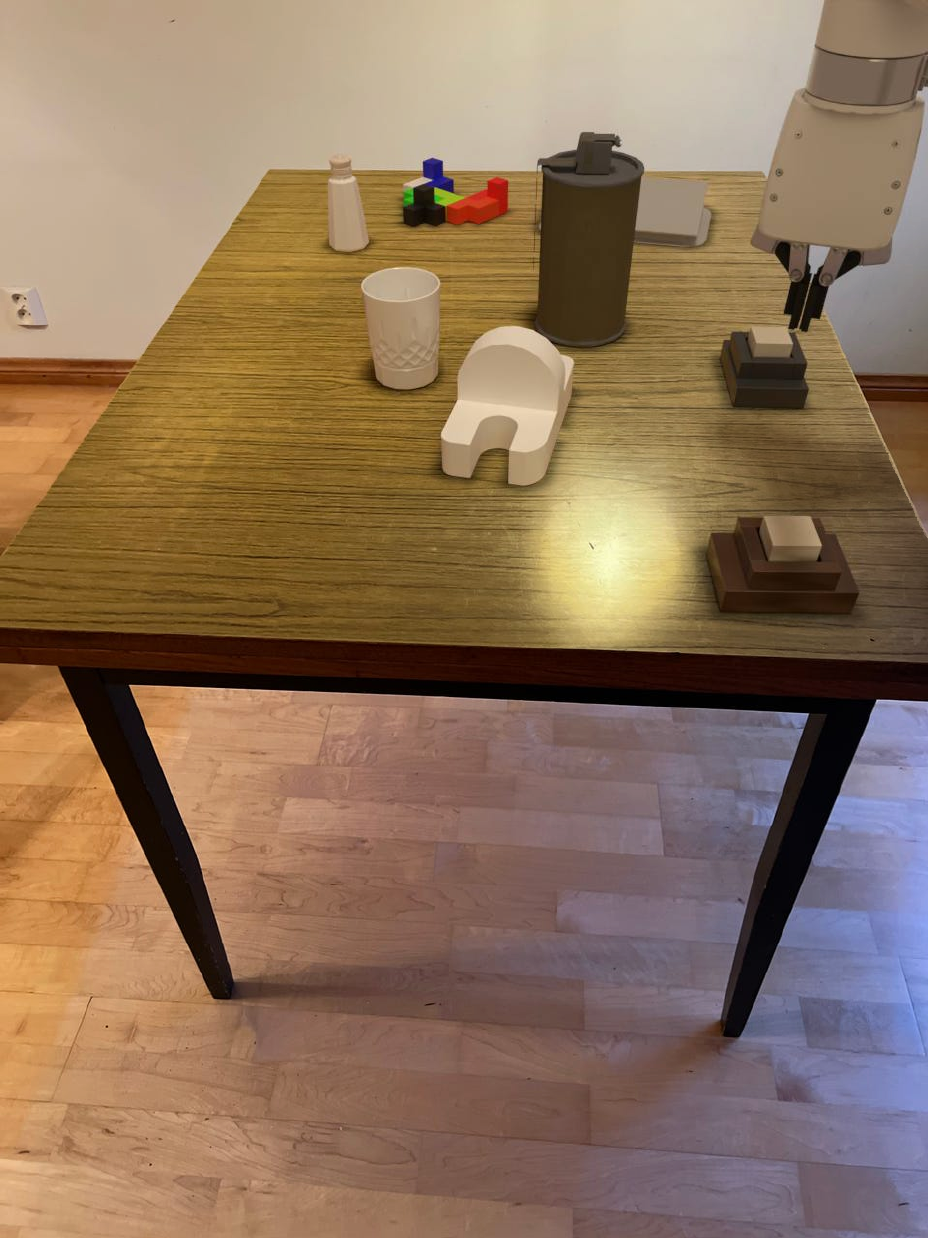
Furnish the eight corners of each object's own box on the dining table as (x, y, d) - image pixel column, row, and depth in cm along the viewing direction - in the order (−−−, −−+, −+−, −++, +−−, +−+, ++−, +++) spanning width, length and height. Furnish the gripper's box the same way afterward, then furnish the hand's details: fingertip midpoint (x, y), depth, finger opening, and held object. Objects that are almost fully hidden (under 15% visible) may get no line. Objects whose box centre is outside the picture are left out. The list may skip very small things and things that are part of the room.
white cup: (447, 357, 97) (444, 267, 90) (438, 394, 92) (435, 302, 84) (376, 355, 98) (368, 265, 91) (364, 392, 92) (354, 299, 85)
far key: (789, 359, 88) (793, 343, 87) (752, 359, 89) (756, 342, 87) (782, 342, 91) (786, 326, 90) (747, 341, 91) (750, 325, 90)
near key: (804, 533, 69) (810, 515, 68) (816, 563, 66) (822, 545, 65) (758, 532, 69) (763, 515, 68) (768, 563, 67) (773, 545, 65)
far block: (803, 408, 89) (814, 372, 86) (733, 406, 89) (741, 370, 86) (785, 359, 96) (794, 324, 93) (719, 357, 96) (726, 323, 93)
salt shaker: (329, 253, 118) (318, 165, 110) (328, 237, 121) (318, 151, 114) (370, 250, 118) (362, 162, 110) (368, 235, 122) (360, 148, 114)
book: (556, 194, 132) (557, 165, 129) (712, 206, 127) (718, 178, 124) (534, 233, 121) (535, 203, 119) (704, 248, 117) (709, 218, 114)
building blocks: (372, 211, 128) (369, 180, 125) (433, 187, 135) (432, 157, 131) (447, 238, 121) (446, 205, 118) (508, 211, 127) (508, 179, 124)
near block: (828, 554, 73) (841, 515, 70) (851, 613, 68) (867, 574, 65) (706, 552, 73) (714, 514, 70) (720, 611, 68) (730, 573, 65)
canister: (624, 306, 105) (645, 121, 91) (627, 349, 98) (650, 154, 84) (533, 304, 106) (540, 120, 92) (529, 346, 99) (536, 152, 85)
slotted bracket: (540, 488, 80) (546, 391, 73) (438, 473, 82) (434, 377, 75) (573, 387, 92) (581, 297, 85) (484, 377, 94) (484, 287, 87)
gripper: (979, 72, 62) (896, 319, 75) (764, 57, 67) (720, 292, 80) (978, 99, 57) (889, 359, 70) (746, 81, 62) (702, 328, 75)
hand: (799, 323), depth 75 cm, fingers closed
